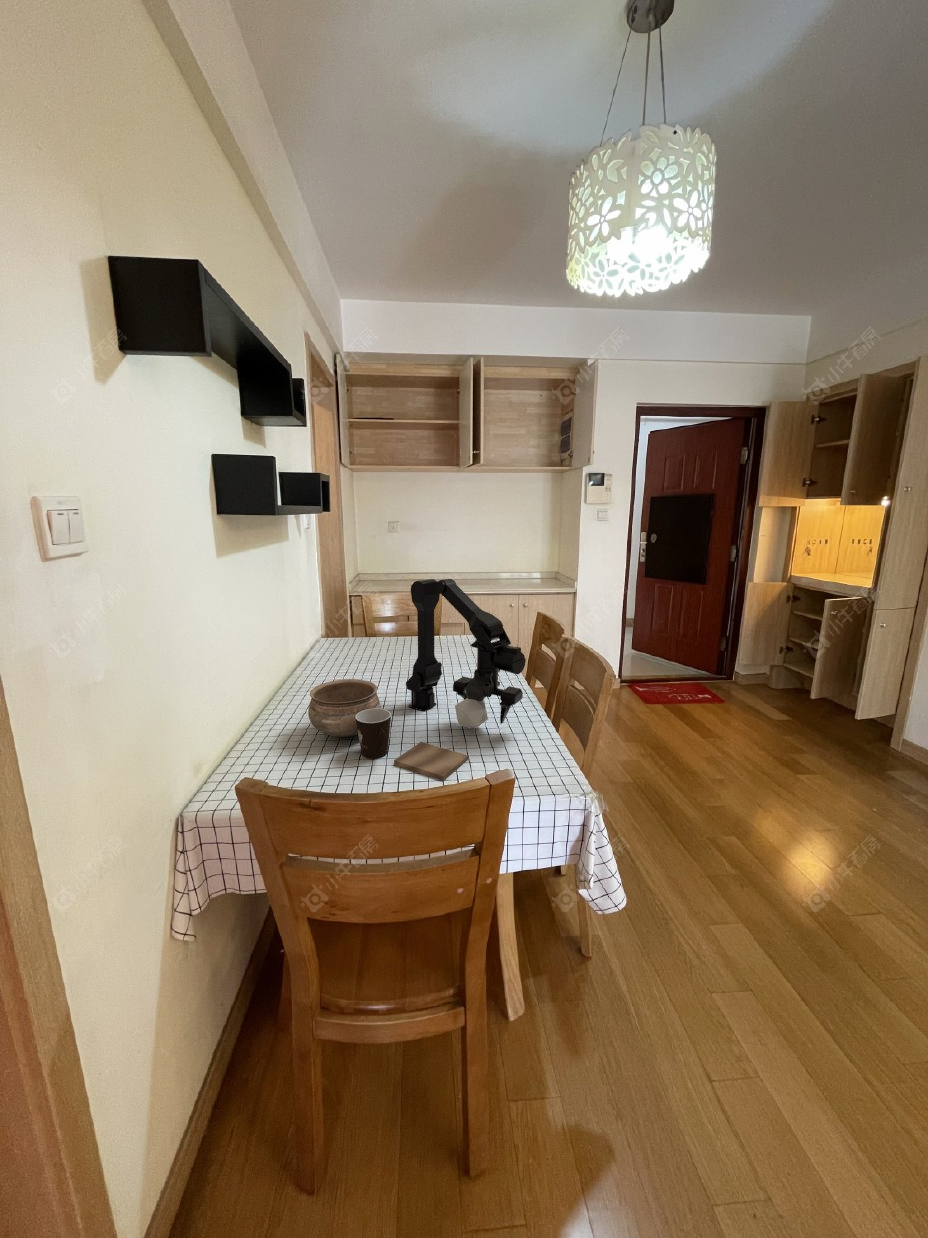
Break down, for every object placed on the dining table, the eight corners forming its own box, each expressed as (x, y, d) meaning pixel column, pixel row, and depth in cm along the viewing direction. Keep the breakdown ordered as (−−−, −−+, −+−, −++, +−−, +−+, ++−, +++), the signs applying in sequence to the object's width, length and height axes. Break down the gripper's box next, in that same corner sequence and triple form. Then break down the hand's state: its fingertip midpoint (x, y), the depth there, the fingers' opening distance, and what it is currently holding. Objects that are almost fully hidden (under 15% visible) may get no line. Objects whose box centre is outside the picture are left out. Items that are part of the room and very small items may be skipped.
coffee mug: (359, 745, 124) (357, 709, 122) (393, 744, 125) (392, 707, 123) (353, 768, 113) (351, 729, 111) (390, 767, 114) (389, 727, 111)
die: (489, 736, 129) (487, 702, 126) (455, 737, 129) (453, 703, 126) (488, 720, 137) (486, 688, 134) (456, 721, 137) (454, 689, 134)
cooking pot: (332, 712, 145) (329, 673, 142) (393, 716, 142) (391, 676, 139) (291, 752, 121) (287, 706, 118) (363, 757, 118) (361, 711, 115)
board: (394, 765, 115) (394, 760, 114) (421, 746, 124) (420, 741, 124) (443, 781, 108) (443, 776, 107) (468, 760, 117) (468, 755, 117)
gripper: (441, 667, 127) (442, 722, 130) (506, 681, 117) (504, 739, 121) (463, 656, 136) (462, 708, 140) (524, 668, 127) (522, 723, 130)
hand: (486, 719), depth 132 cm, fingers open, 9 cm apart
